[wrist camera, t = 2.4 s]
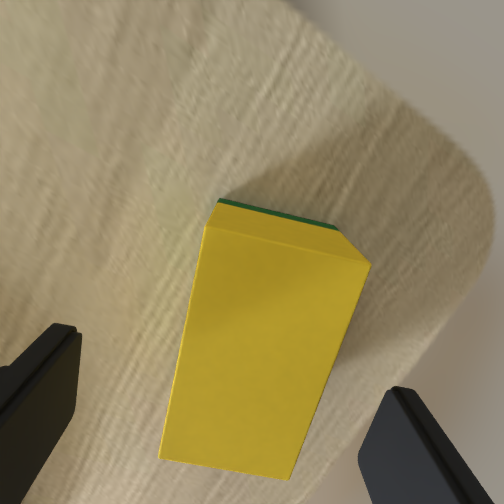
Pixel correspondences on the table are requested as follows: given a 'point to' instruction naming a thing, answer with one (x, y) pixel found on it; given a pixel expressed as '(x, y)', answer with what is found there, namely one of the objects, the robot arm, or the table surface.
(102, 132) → the table surface
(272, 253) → the sponge
